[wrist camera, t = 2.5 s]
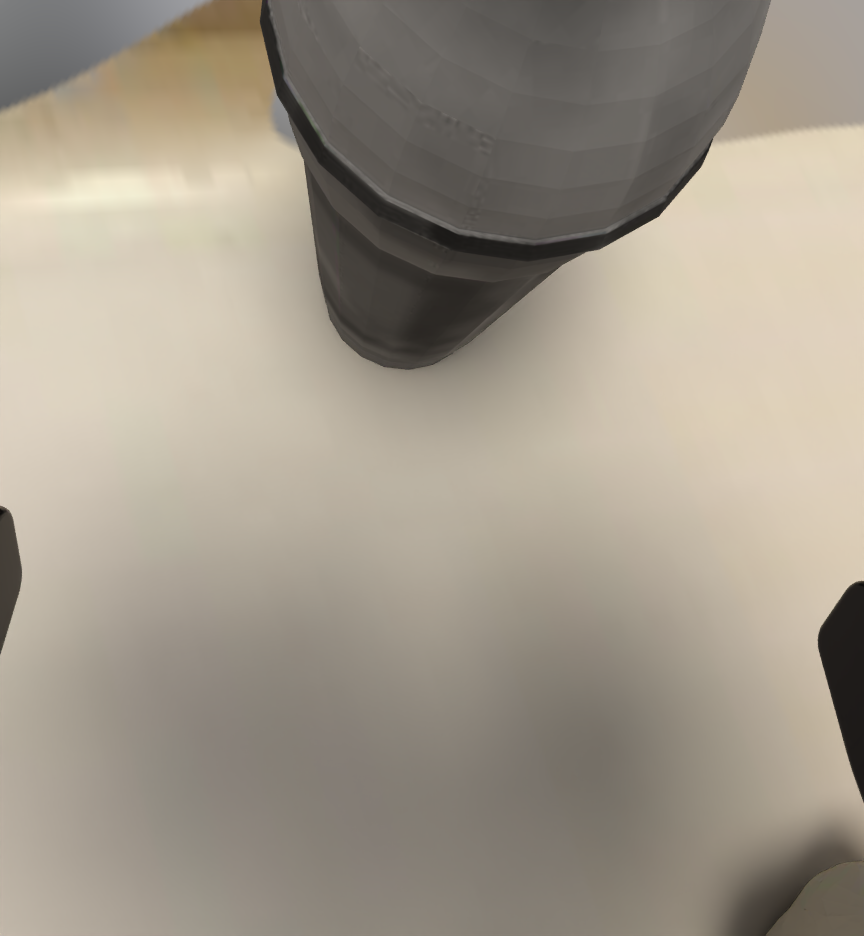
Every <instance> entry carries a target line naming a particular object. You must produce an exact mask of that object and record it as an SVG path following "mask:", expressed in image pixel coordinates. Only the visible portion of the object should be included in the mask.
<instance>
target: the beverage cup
mask: <svg viewBox="0 0 864 936" xmlns="http://www.w3.org/2000/svg"><path fill="white" fill-rule="evenodd" d="M770 2H771V0H262V8H261V16H260V25H261V29H262V33H263V37H264V42H265V46H266V50H267V55H268V59H269V63H270V67H271V72H272V76H273V80H274V85H275V89H276V93H277V96H278V98H279V99H280V101H281V103H282V104H283V106H284V108H285V109H286V111H287V112H288V117H289V121H290V124H291V127H292V130H293V133H294V136H295V138H296V141H297V144H298V147H299V150H300V152H301V155H302V157H303V159H304V165H305V173H306V180H307V187H308V195H309V202H310V210H311V217H312V225H313V232H314V240H315V247H316V254H317V262H318V269H319V276H320V280H321V285H322V289H323V293H324V298H325V302H326V304H327V308H328V313H329V317H330V320H331V321H332V323H333V325H334V326H335V328H336V330H337V331H338V333H339V335H340V336H341V338H342V340H343V341H345V342H346V343H347V344H348V345H349V346H350V347H351V348H352V349H354V350H355V351H356V352H357V353H358V354H359V355H360V356H362V357H364V358H366V359H368V360H371V361H373V362H375V363H377V364H380V365H382V366H384V367H392V368H401V369H413V368H418V367H423V366H428V365H432V364H434V363H436V362H438V361H440V360H441V359H443V358H445V357H447V356H448V355H450V354H452V353H453V352H454V351H455V350H457V349H459V348H461V347H462V346H464V345H466V344H468V343H469V342H470V341H471V340H473V339H474V338H475V337H476V336H477V335H479V334H480V333H481V332H482V331H483V330H485V329H486V328H487V327H488V326H489V325H491V324H492V323H493V322H494V321H495V320H497V319H498V318H499V317H500V316H501V315H503V314H504V313H505V312H506V311H507V310H509V309H510V308H511V307H512V306H513V305H515V304H516V303H517V302H518V301H519V300H521V299H522V298H523V297H524V296H525V295H527V294H528V293H529V292H530V291H531V290H533V289H534V288H535V287H536V286H537V285H539V284H540V283H541V282H542V281H543V280H545V279H546V278H547V277H548V276H549V275H551V274H552V273H553V272H554V271H555V270H557V269H558V268H559V267H560V266H561V265H563V264H565V263H567V262H569V261H571V260H572V259H574V258H576V257H578V256H580V255H582V254H583V253H585V252H588V251H594V250H599V249H601V248H603V247H605V246H607V245H608V244H610V243H612V242H614V241H616V240H617V239H619V238H621V237H623V236H625V235H626V234H628V233H630V232H632V231H634V230H635V229H637V228H639V227H641V226H642V225H644V224H646V223H648V222H650V221H651V220H653V219H655V218H657V217H659V216H660V214H661V213H662V212H663V211H664V210H665V209H666V207H667V206H668V205H669V204H670V203H671V202H672V200H673V199H674V198H675V197H676V196H677V195H678V193H679V192H680V191H681V190H682V189H683V188H684V186H685V185H686V184H687V183H688V182H689V181H690V179H691V178H692V177H693V176H694V175H695V174H696V172H697V171H698V170H699V169H700V168H701V166H702V164H703V162H704V160H705V158H706V155H707V153H708V151H709V148H710V146H711V143H712V140H713V138H714V136H715V135H716V134H717V132H718V131H719V130H720V128H721V127H722V126H723V125H724V123H725V121H726V119H727V117H728V115H729V113H730V111H731V109H732V107H733V105H734V103H735V102H736V100H737V98H738V96H739V93H740V90H741V87H742V85H743V82H744V79H745V77H746V74H747V71H748V69H749V66H750V63H751V60H752V58H753V55H754V52H755V49H756V47H757V44H758V41H759V38H760V36H761V33H762V29H763V26H764V23H765V19H766V16H767V12H768V9H769V5H770Z"/></svg>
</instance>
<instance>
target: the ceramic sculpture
mask: <svg viewBox="0 0 864 936" xmlns="http://www.w3.org/2000/svg"><path fill="white" fill-rule="evenodd" d="M765 936H864V861H853V862H847V863H841V864H838V865H836V866H834V867H832V868H831V869H829V870H825V871H822V872H821V873H819V874H818V875H816V876H815V877H814V878H812V879H811V880H810V881H809V882H808V883H807V884H806V885H805V887H804V888H803V890H802V891H801V893H800V894H799V895H798V897H797V898H796V900H795V901H794V903H793V904H792V905H791V907H790V908H789V909H788V910H787V911H786V912H785V913H784V914H783V915H782V916H781V917H780V918H779V919H778V920H777V922H776V923H775V924H774V925H773V927H772V928H771V929H770V930H769V932H768V933H767V934H766V935H765Z"/></svg>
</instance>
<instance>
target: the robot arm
mask: <svg viewBox="0 0 864 936" xmlns="http://www.w3.org/2000/svg"><path fill="white" fill-rule="evenodd" d="M21 579H22V567H21V561H20V555H19V549H18V544H17V538H16V533H15V527H14V521H13V517H12V515H11V513H10V511H9V510H8V509H7V508H5V507H2V506H0V654H1V651H2V647H3V644H4V641H5V637H6V634H7V631H8V628H9V624H10V621H11V618H12V614H13V611H14V608H15V605H16V601H17V598H18V595H19V591H20V586H21ZM818 649H819V653H820V657H821V660H822V664H823V668H824V671H825V675H826V679H827V682H828V686H829V689H830V693H831V697H832V700H833V704H834V708H835V711H836V715H837V719H838V722H839V726H840V730H841V733H842V737H843V741H844V744H845V748H846V752H847V755H848V758H849V762H850V765H851V768H852V771H853V774H854V777H855V780H856V783H857V786H858V788H859V791H860V794H861V797H862V799H863V802H864V581H858V582H855V583H854V584H852V585H850V586H849V587H848V588H847V590H846V591H845V593H844V594H843V595H842V597H841V598H840V600H839V601H838V603H837V604H836V606H835V607H834V609H833V610H832V611H831V613H830V614H829V616H828V617H827V619H826V620H825V622H824V623H823V625H822V626H821V628H820V631H819V634H818Z"/></svg>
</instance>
